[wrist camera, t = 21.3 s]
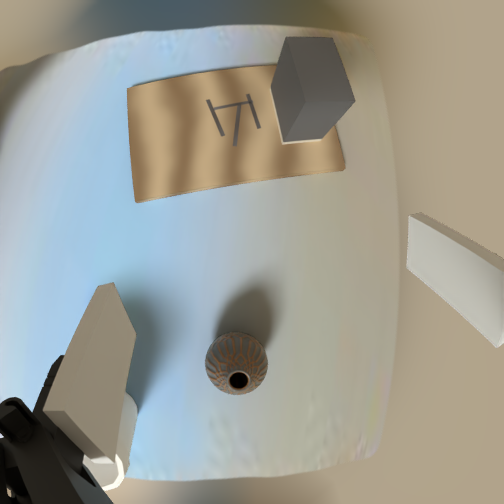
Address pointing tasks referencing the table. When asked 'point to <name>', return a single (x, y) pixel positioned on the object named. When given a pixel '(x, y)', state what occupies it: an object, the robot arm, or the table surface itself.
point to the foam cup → (117, 449)
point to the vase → (236, 363)
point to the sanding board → (215, 135)
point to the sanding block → (309, 89)
